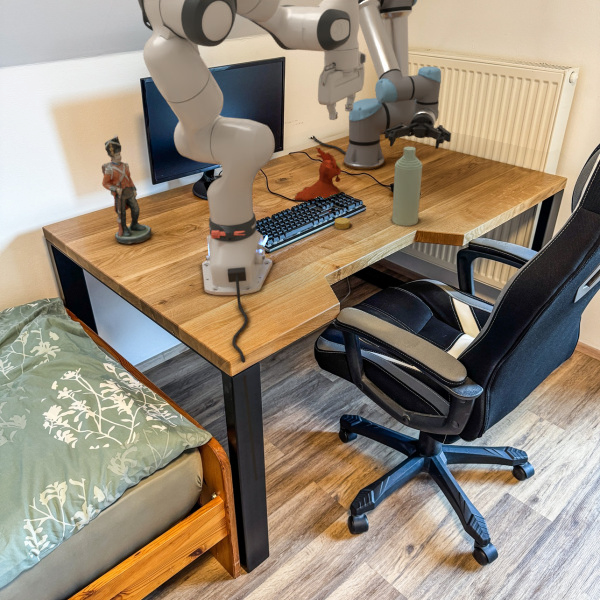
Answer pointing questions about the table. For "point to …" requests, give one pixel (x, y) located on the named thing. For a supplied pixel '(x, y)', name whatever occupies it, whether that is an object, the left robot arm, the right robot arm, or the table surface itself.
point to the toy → (323, 179)
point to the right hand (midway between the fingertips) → (413, 143)
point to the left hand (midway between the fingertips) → (341, 115)
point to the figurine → (123, 195)
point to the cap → (342, 223)
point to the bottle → (407, 188)
